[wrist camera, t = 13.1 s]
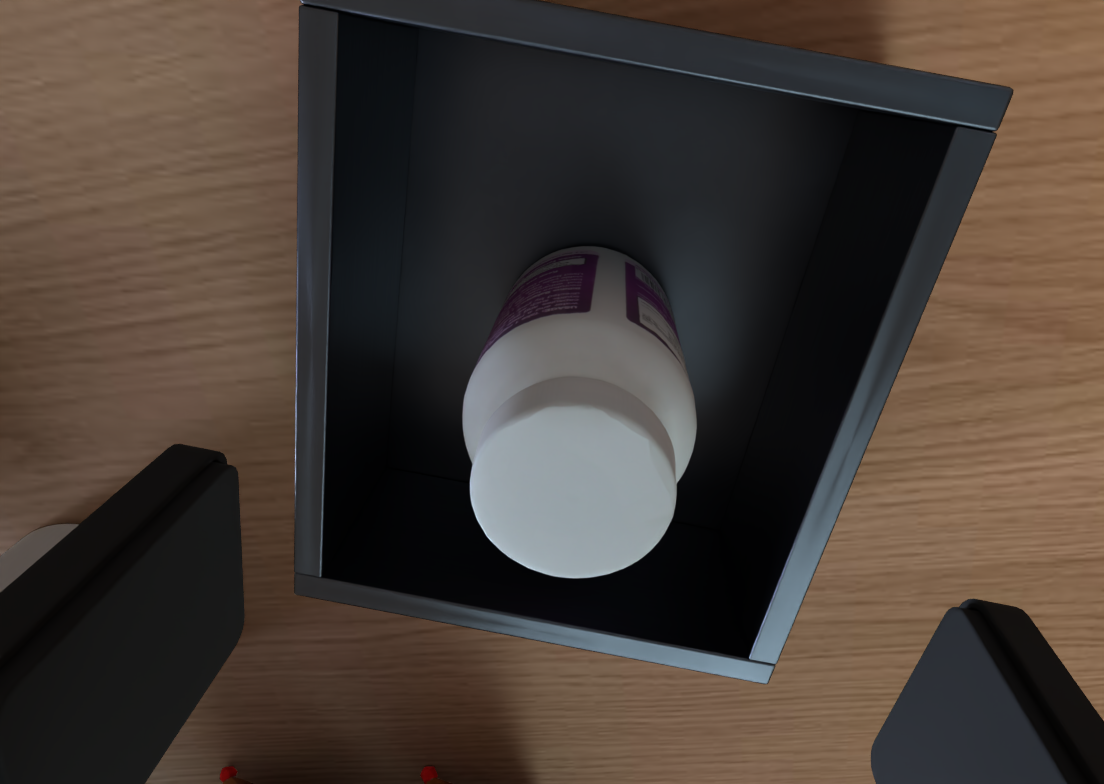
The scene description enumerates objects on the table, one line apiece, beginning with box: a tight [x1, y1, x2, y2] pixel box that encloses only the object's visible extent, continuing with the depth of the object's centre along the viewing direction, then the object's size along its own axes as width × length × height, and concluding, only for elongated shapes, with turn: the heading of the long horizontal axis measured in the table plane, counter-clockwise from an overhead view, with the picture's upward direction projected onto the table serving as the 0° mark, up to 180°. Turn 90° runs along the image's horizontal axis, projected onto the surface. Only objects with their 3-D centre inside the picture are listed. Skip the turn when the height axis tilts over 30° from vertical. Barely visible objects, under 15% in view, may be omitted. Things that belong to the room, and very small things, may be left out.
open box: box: [294, 0, 1013, 684], centre depth 19 cm, size 16×14×7 cm
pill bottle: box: [462, 246, 697, 578], centre depth 18 cm, size 5×5×10 cm
